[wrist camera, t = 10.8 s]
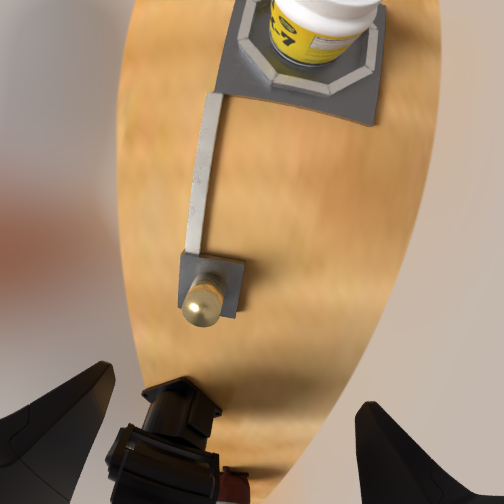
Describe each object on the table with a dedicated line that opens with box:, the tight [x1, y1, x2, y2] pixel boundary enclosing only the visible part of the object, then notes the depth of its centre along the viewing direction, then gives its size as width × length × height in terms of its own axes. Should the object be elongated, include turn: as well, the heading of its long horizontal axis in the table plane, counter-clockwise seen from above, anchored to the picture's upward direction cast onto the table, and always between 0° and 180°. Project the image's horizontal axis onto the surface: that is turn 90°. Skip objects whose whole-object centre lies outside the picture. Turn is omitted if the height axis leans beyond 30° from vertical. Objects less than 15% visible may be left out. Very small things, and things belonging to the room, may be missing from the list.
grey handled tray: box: [178, 0, 386, 327], centre depth 15 cm, size 25×11×4 cm, turn 170°
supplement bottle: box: [269, 0, 382, 67], centre depth 9 cm, size 5×5×8 cm
